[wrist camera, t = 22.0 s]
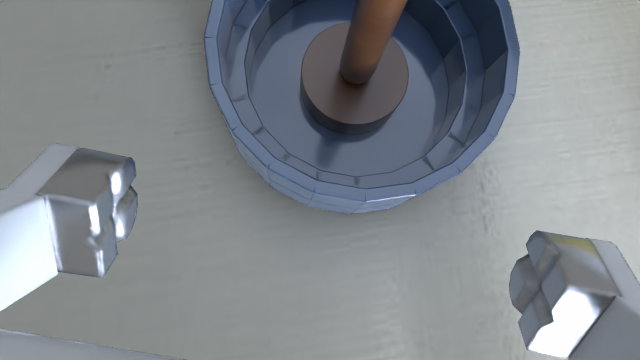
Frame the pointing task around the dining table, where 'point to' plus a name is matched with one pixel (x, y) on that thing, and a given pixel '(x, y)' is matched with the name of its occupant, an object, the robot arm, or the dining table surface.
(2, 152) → the dining table surface
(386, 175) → the bowl
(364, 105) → the wooden plunger
